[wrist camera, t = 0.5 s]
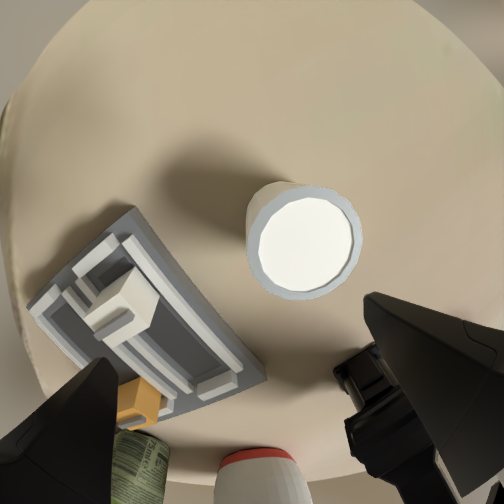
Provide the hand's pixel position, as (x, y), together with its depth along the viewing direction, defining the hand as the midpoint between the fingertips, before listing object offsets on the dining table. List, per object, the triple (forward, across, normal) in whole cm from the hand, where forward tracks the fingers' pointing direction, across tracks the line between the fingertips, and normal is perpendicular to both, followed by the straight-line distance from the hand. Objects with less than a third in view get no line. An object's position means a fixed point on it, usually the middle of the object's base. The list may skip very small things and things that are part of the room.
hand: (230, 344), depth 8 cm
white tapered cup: (+14, -4, 0) cm, 15 cm away
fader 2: (+11, +13, +13) cm, 22 cm away
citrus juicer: (+14, +6, +40) cm, 43 cm away
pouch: (+14, +24, +28) cm, 39 cm away
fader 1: (+11, +9, +2) cm, 14 cm away
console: (+14, +11, +8) cm, 19 cm away
